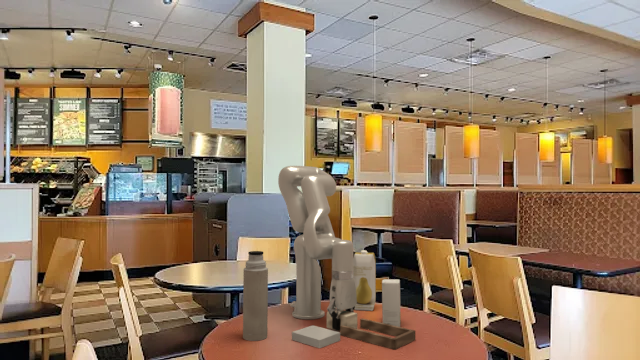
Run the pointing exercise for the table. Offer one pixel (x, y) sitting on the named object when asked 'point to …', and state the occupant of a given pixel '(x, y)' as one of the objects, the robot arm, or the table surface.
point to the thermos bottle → (255, 297)
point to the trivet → (316, 336)
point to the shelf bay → (400, 340)
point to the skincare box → (391, 301)
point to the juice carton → (365, 280)
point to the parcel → (344, 319)
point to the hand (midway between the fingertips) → (342, 326)
